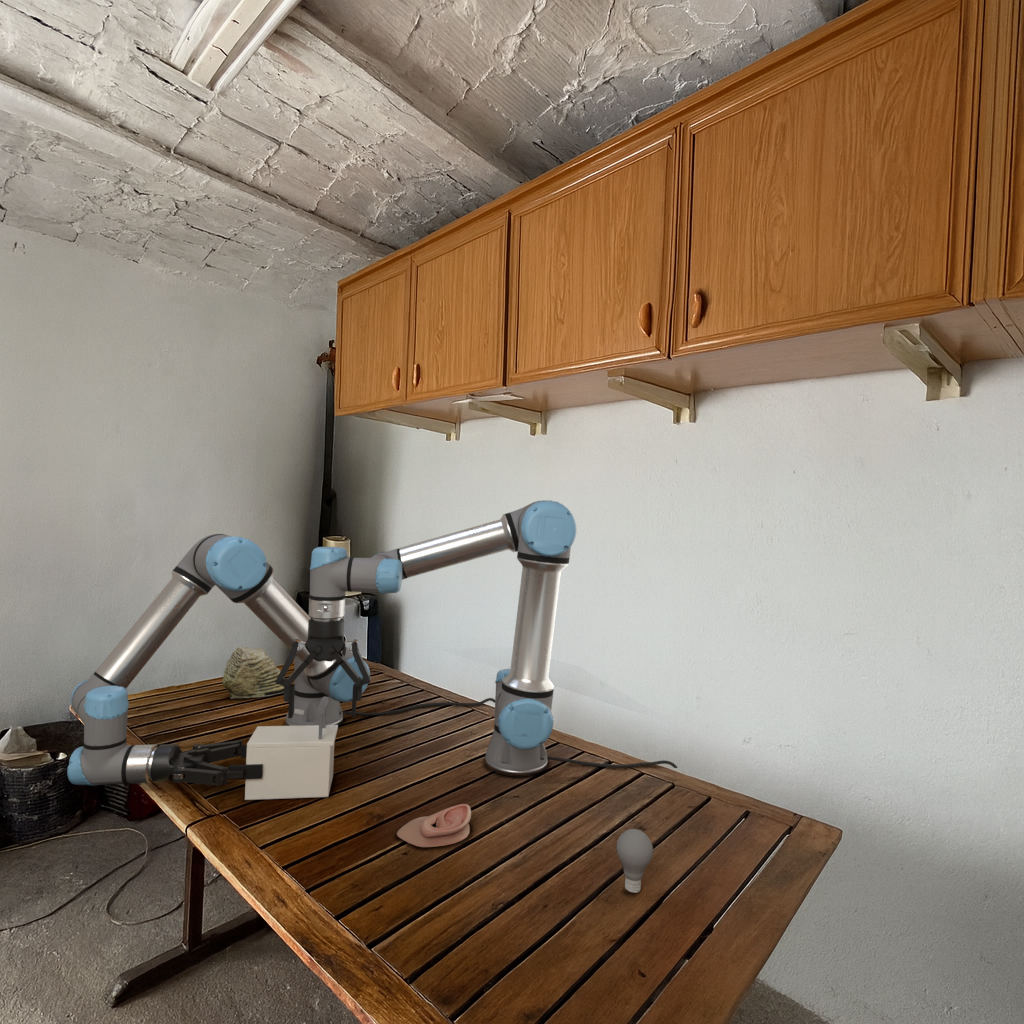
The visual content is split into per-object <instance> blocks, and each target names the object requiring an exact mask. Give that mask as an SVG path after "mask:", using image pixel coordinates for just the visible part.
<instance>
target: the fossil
mask: <svg viewBox="0 0 1024 1024" xmlns="http://www.w3.org/2000/svg"><path fill="white" fill-rule="evenodd" d="M280 671H281V669H279V668H278V667H277V665H276V663H275V662H274V660H273V659H272V658H271V657H270V656H269V655H268V654H267V653H266V652H265V650H264V649H263V648H260V647H258V648H251V647H247V646H246V647H245V646H238V647H237V648H236V649H235V650H233V651H232V653H231V656H230V657H229V659H228V660H227V663H226V666H225V668H224V671H223V675H222V676H223V677H222V685H223V687H224V688H225V690H226V691H228V693H229V698H230V699H250V698H264V697H271V696H275V695H281V694H284V687H283V686H282V685H277V684H276V683H275V681H276V679H277V677H278V675H279V673H280ZM284 678H286V676H285V677H284Z"/></svg>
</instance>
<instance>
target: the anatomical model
mask: <svg viewBox="0 0 1024 1024" xmlns="http://www.w3.org/2000/svg"><path fill="white" fill-rule="evenodd" d="M471 819H472V809H471V806H470V805H469V804H468V803H462V804H461V803H460V804H456V805H452V806H450V807H447V808H445V809H442V810H439V811H437V812H436V813H433V814H431V815H428V816H426V815H425V816H420V817H417V818H414V819H412V820H410V821H408V822H407V823H405V824H404V825H402V826H401V827H400V828H399V829H398V830H397V832H396V836H397V837H398V838H399V839H401V840H402V841H403V842H406V843H408V844H409V845H413V846H415V847H419V848H435V847H442V846H443V847H444V846H448V845H449V846H450V845H453V844H456V843H458V842H461V841H463V840H465V839H466V838H468V836H469V835H470V832H471V831H470V830H471V829H470V828H471V827H470V824H469V823H470V821H471Z"/></svg>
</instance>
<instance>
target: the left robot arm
mask: <svg viewBox="0 0 1024 1024" xmlns="http://www.w3.org/2000/svg"><path fill="white" fill-rule="evenodd" d="M266 557H267V556H266V554H265V552H264V551H263V550H262V548H261V547H260V546H259V545H258V544H257V543H256V542H254V541H252V540H250V539H248V538H246V537H243V536H233V535H229V534H224V533H213V534H208V535H206V536H204V537H203V538H201V539H200V540H198V541H197V542H196V543H195V544H193V545H192V547H190V549H189V550H188V551H187V552H186V553H185V555H184V556H183V558H181V560H180V561H179V562H178V564H177V565H176V566H175V567H174V568H173V569H172V571H171V579H170V580H169V581H168V583H166V585H165V586H164V588H162V590H161V591H160V593H158V594H157V596H156V597H155V599H153V601H152V602H151V603H150V604H149V606H148V607H147V608H146V609H145V611H144V612H143V613H142V614H141V616H140V617H139V618H138V619H137V620H136V621H135V622H134V624H133V625H132V626H131V628H130V629H129V630H128V631H127V632H126V634H125V635H124V636H123V637H122V638H121V640H120V641H119V642H118V643H117V645H116V646H115V647H114V648H113V649H112V650H111V652H110V653H109V654H108V655H107V657H106V658H105V659H104V660H103V662H102V663H101V664H99V667H98V668H97V669H96V670H95V671H94V673H92V675H90V677H89V678H88V679H86V680H82V681H81V682H79V683H78V684H77V685H76V686H75V687H74V688H73V690H72V691H71V695H70V704H71V707H72V710H73V712H74V713H75V714H76V715H77V716H78V718H79V719H80V721H81V722H82V724H83V746H79V747H77V748H75V749H74V751H73V752H72V753H71V755H70V757H69V760H68V766H67V771H66V774H67V778H68V781H69V783H71V784H72V785H74V786H91V787H97V786H107V785H108V786H110V785H133V784H135V785H137V786H142V785H143V784H151V782H153V783H154V784H170V783H173V784H178V783H179V784H180V783H185V784H197V785H207V786H215V787H216V786H217V787H219V786H226V785H228V780H246V779H262V774H263V764H249V765H246V764H229V766H227V767H226V766H222V765H218V764H215V763H216V762H220V761H225V760H229V759H233V758H237V757H240V758H241V759H246V756H247V744H243V742H244V741H243V739H239V740H232V741H224V742H216V743H215V742H214V743H207V744H193V745H192V749H190V750H187V751H182V750H181V747H180V745H179V744H177V743H173V744H172V743H171V744H170V743H169V744H167V743H165V744H160V745H158V744H127V738H128V737H127V735H128V718H129V717H128V715H129V713H128V712H129V707H130V702H129V692H128V690H127V689H128V687H129V686H130V684H131V683H132V682H133V681H134V680H135V678H136V677H137V676H138V675H139V673H140V672H141V671H142V670H143V668H144V667H145V666H146V665H147V664H148V662H149V661H150V659H152V657H153V656H154V655H155V653H156V652H157V651H158V650H159V649H160V647H161V646H162V645H163V643H164V642H165V641H166V640H167V639H168V637H169V636H170V635H171V633H172V632H173V631H174V630H175V629H176V627H177V626H178V625H179V624H180V622H181V621H182V620H183V618H184V617H185V616H186V615H187V614H188V612H189V611H190V610H191V608H192V607H193V606H194V604H196V602H197V601H198V600H199V598H200V597H202V596H206V595H209V593H210V592H211V591H212V589H214V587H217V588H218V589H219V590H220V591H221V592H222V593H223V594H224V595H225V596H226V597H227V598H228V599H229V600H230V601H231V602H232V603H234V604H243V605H245V606H246V607H247V608H248V609H249V610H250V611H251V612H252V613H253V614H254V615H255V616H256V617H257V618H258V619H259V620H260V621H261V622H262V623H263V624H264V625H265V626H266V627H267V628H268V629H269V631H271V632H272V633H273V634H274V635H275V636H276V637H277V638H278V639H279V640H280V641H281V642H282V643H283V645H285V646H286V647H287V648H288V649H289V650H290V651H291V648H292V643H293V641H294V640H295V639H298V640H299V641H307V639H308V621H309V620H310V619H311V617H310V616H309V614H307V612H306V611H305V610H304V609H303V608H302V607H301V606H300V605H299V604H298V603H297V601H296V600H295V599H293V598H292V597H291V595H290V594H289V593H288V592H287V591H286V590H285V589H284V588H283V587H282V586H281V585H280V584H279V583H278V582H277V581H276V580H275V578H274V572H275V570H274V567H272V565H271V564H270V563H269V562H268V561H267V558H266ZM341 653H342V654H343V655H344V657H345V659H346V660H347V661H348V662H349V664H350V665H351V666H352V667H353V669H354V670H355V671H356V672H357V674H358V675H359V676H360V677H361V678H363V677H362V674H361V672H360V670H359V668H358V665H357V663H356V661H355V659H354V656H353V653H352V651H349V649H348V648H347V647H345V648H344V649H343V650H342V652H341ZM309 654H310V653H309V652H308V651H307V649H306V648H305V647H303V648H302V649H301V651H298V652H297V654H296V656H295V658H294V671H295V670H296V669H297V667H298V666H299V665H300V664H301V663H302V662H303V661H304V660H305V658H306V657H307V656H308V655H309ZM363 661H364V663H365V665H366V667H367V670H368V672H369V674H370V675H371V671H370V667H369V665H368V663H367V662H366V661H365V660H364V659H363ZM294 671H293V672H294ZM293 684H295V697H294V715H293V717H292V718H288V712H287V713H286V715H285V726H308V725H319V714H318V713H317V710H318V707H319V704H320V702H321V699H322V698H323V697H328V698H329V702H328V705H327V708H326V725H338V727H339V726H340V725H342V723H343V722H344V715H345V716H347V715H350V716H352V711H349V710H348V711H345V710H343V709H342V706H341V703H350V702H352V696H353V685H354V684H355V683H354V682H353V680H352V679H351V678H350V677H349V675H348V674H347V673H346V672H345V670H344V669H343V668H342V667H341V665H340V664H338V663H337V661H336V660H333V661H332V662H328V661H321V662H317V661H316V660H314V659H313V660H312V661H311V662H310V664H309V665H308V666H307V667H306V668H305V669H304V670H303V671H302V672H301V674H300V675H299V676H298V677H297V678H296V679H295V680H294V682H293ZM368 685H369V684H365V685H363V686H362V694H363V693H364V692H365V691H366V689H367V688H368ZM488 702H493V703H494V704H495V698H493V697H488V698H485V699H483V700H480V701H477V702H451V701H450V702H449V701H448V702H429V703H421V704H420V703H419V704H414V705H410V706H408V707H403V708H399V709H393V710H386V711H379V712H361V711H356V715H355V716H364V717H375V716H385V715H392V714H397V713H403V712H407V711H410V710H414V709H419V708H426V707H435V706H436V707H438V706H462V707H465V706H466V707H475V706H481V705H483V704H486V703H488Z"/></svg>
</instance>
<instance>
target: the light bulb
mask: <svg viewBox="0 0 1024 1024" xmlns="http://www.w3.org/2000/svg"><path fill="white" fill-rule="evenodd" d="M615 849H616V854H617V857H618V859H619V861H620V863H621V865H622V867H623V873H624V874H623V875H624V876H625V878H624V888H625V890H627V891H628V892H630V893H634V894H635V893H639V892H640V891H641V889H642V887H641V886H642V879H643V877H644V875H645V871H646V868H647V867H648V866H649V864H650V863H651V861H652V859H653V855H654V847H653V843H652V841H651V838H649V836H648V835H647V834H646V833H645V832H643V831H642V830H641V829H636V828H629V829H627V830H625V831H623V832H622V833H621V834H620V835H619V837H618V839H617V841H616V847H615Z"/></svg>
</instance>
